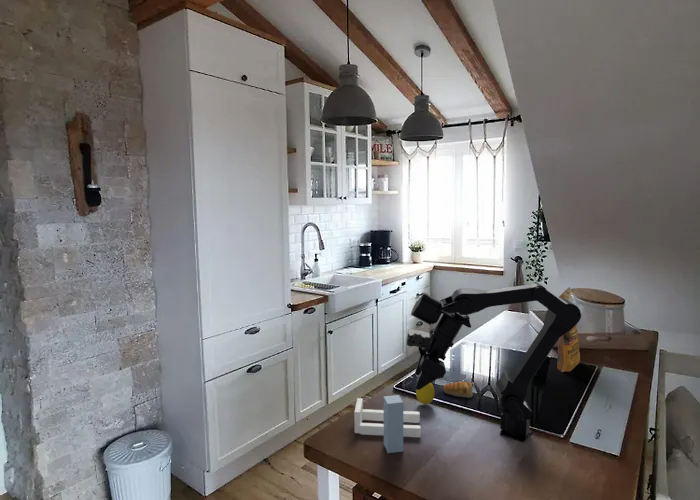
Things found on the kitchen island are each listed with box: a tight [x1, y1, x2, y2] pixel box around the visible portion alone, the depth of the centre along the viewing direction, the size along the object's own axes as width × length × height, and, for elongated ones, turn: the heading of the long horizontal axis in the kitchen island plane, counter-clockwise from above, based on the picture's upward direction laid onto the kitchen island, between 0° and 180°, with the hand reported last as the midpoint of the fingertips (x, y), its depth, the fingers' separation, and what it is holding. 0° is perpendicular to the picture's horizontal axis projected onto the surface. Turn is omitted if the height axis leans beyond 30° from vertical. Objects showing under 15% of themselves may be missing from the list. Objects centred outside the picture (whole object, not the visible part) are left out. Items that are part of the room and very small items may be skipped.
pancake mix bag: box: [556, 286, 581, 373], centre depth 163 cm, size 7×19×28 cm, turn 137°
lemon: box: [415, 382, 436, 406], centre depth 135 cm, size 6×6×8 cm
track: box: [353, 397, 422, 438], centre depth 123 cm, size 18×9×6 cm, turn 83°
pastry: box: [442, 380, 474, 398], centre depth 143 cm, size 9×7×4 cm
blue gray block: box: [383, 394, 404, 454], centre depth 112 cm, size 4×4×13 cm
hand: (416, 381), depth 121 cm, fingers open, 9 cm apart
